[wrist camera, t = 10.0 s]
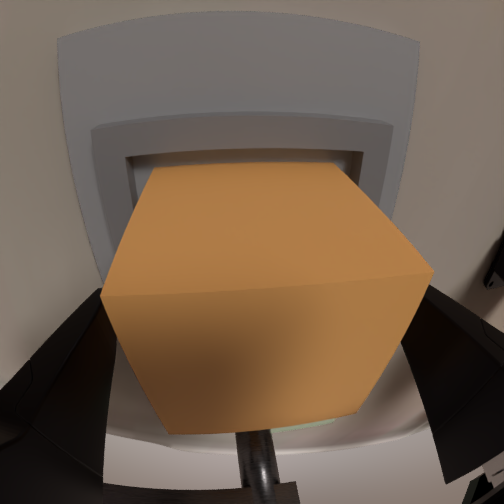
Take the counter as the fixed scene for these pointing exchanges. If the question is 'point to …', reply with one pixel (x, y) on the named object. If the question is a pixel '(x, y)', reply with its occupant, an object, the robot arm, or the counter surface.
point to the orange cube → (259, 294)
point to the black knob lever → (224, 500)
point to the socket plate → (230, 104)
